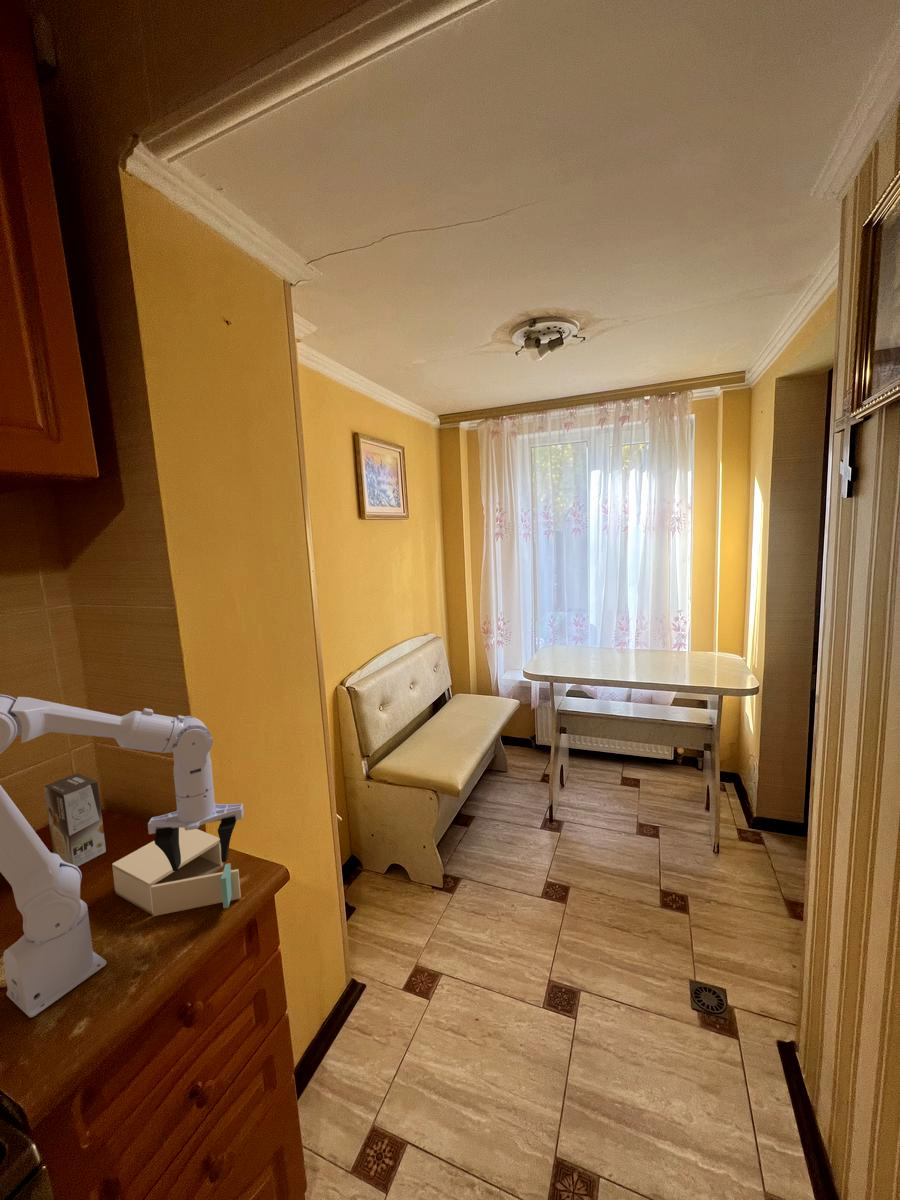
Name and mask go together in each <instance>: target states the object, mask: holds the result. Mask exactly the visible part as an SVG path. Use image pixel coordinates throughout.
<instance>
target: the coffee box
mask: <svg viewBox="0 0 900 1200" xmlns="http://www.w3.org/2000/svg"><path fill="white" fill-rule="evenodd" d="M43 791H44V796H45V804H46V812H47V817H48V824H49V832H50V840H51V847H52V853H55V854H58V855H59V856H60V858H61V859H62V860H63V861H65V862H67V863H69V864H73V865H75V866H77V867H78V868H79V867H80V866H82V865H83V864H86V863H87V862H90V861H91V860H93V859H96V858H98V856H101V855H103V854H104V853H106V852H107V849H106V839H105V832H104V823H103V822H104V821H103V816H102V815H103V814H102V808H101V807H102V806H101V799H100V791H99V783H98V780H95V779H92V778H90V777H88V776H85V775H83V774H79V773H77V772H76V773H74V774H70V775H68V776H66V777H63V778H60V779H58V780H55V781H54V782H51V783H48V784H46V785H44V786H43Z"/></svg>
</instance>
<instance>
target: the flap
mask: <svg viewBox="0 0 900 1200" xmlns="http://www.w3.org/2000/svg"><path fill="white" fill-rule="evenodd" d="M231 864H232V863H231V862H229V863H225V864H224V867H223V868H224V869H223V871H221V872H215V873H213V874H209V875H204V876H198V877H193V878H188V879H182V880H177V881H172V882H166V883H161V884H156V885H152V886H151V894H152V904H153V913H154V915H153V917H156V916H162V915H166V914H171V913H175V912H181V911H187V910H191V909H195V908H196V909H197V908H200V907H201V908H202V907H205V906H210V905H215V904H220V903H222V905H223V906H222V907H223V909H228V908H229V907H230V904H231V901H235V900H239V899H241V898H242V897H241V882H240V872H239V868H236V869H232V865H231Z"/></svg>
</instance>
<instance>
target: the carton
mask: <svg viewBox="0 0 900 1200" xmlns="http://www.w3.org/2000/svg"><path fill="white" fill-rule="evenodd" d="M179 847H180V854H181V864H180V866H179V868H178V870H177V871H173V869H172V867H171V864H170V862H169V860H168V858H167V857H166V855H165V854H164V852H163V851H162V850H161V849H160V848H159V847H158V846H157V845H155V842H154V840H153V841H151V842H149V843H147V844H146V845H144V846H141V847H139V848H138V849H137V850H134V851H133V852H130V853H129V854H127V855H125V856H123V857H121V858H120V859H118V860H116V861H114V862H113V863H111V866H112V874H113V875H112V876H113V884H114V892H115V895H117V896H118V897H121V898H123V899H124V900H126V901H127V902H129V903H130V904H133V905H134V906H136V907H138V908H140V909H141V910H143V911H145V912H147V914H150V915H152V916H154V913H153V904H152V894H151V886H152V885H156V884H161V883H166V882H172V881H177V880H182V879H188V878H193V877H198V876H204V875H209V874H214V873H217V872H218V871H220V869H223V868H224V867H225V864H224V862H222V860H221V844H220V838H219V836H216V835H213V834H211V833H208V832H205V831H203V830H201V829H198V828H197V829H193V830H185V828H180V827H179Z"/></svg>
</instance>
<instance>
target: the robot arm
mask: <svg viewBox="0 0 900 1200" xmlns="http://www.w3.org/2000/svg"><path fill="white" fill-rule="evenodd" d="M49 733H60V734H70V735H81V736H89V737H91V736H92V737H101V738H111V739H114V740H115V741H116V743H117V745H118V746H119V747H120V748H122V749H123V748H124V749H132V750H139V751H145V752H154V753H160V754H162V753H163V754H167V753H173V769H172V770H173V771H172V772H173V779H174V780H173V782H174V789H175V801H176V802H175V803H176V811H172V812H169V813H166V814H162V815H158V816H152V817H151V818H150V819H149V821H148V822H147V829H148V835H154V834H155V838H154V839H153V841H154V842H155V845H157V846H158V847H159V848H160V849H161V850H162V851H163V852H164V854H165V855H166V857H167V858H168V860H169V862H170V864H171V867H172V869H173V871H177V870H178V868H179V866H180V864H181V854H180V847H179V827H180V828H185V830H193V829H198V828H199V827H200V826H202V825H205V824H209V823H217V822H220V823H219V826H218V828H217V835H218V838H220V844H221V860H222V862H223V863H227V861H228V858H229V851H230V842H231V840H232V839H231V837H232V834H233V831H234V829H235V826H236V823H237V821H239V820H243V817H244V814H245V813H244V803H235V804H234V803H232V804H230V803H226V804H225V803H216V802H215V789H214V788H215V787H214V777H213V776H214V775H213V767H212V766H213V765H212V759H211V756H210V755H211V750H212V747H213V745H214V738H213V737H212V734H211V732H210V731H209V728H207V726H206V725H205V722H203V721H202V720H200V719H198V718H196V717H194V716H192V715H187V716H186V715H185V716H184V715H180V714H179V715H177V716H175V717H174V716H170V715H169V716H168V715H163V714H157V713H154V710H153V709H151V708H147V707H145V708H143V710H142V711H141V710H140V711H139V710H132V711H131V712H129V713H127V714H124V715H121V716H120V715H115V714H112V713H111V714H110V713H106V712H101V711H96V710H91V709H87V708H83V707H78V706H71V705H67V704H63V703H58V702H53V701H48V700H44V699H38V698H33V697H28V696H17V698H15V697H13V696H11V695H7V694H0V755H1V754H2V753H3V752H5V751H6V749H8V748H9V747H10V746H11V745H12V743H13V742H14V741H15V739H16V737H17V736H21V737H20V743H21V744H24V743H27V742H30V741H31V740H34V739H37V738H38V737H41V736H44V735H45V734H49ZM0 873H1V875H2V876H3V877H4V879H5V880H6V881H7V882H8V883H9V885H10V886H11V888H12V889H11V890H12V893H13V897H14V901H15V906H16V908H17V910H18V911H19V912H20V914H21V916H22V930H23V933H24V934H23V935H22V936H21V937H20V938H19V939H18V940H17V941H16V942H14V943H13V944H11V945H10V946H8V948H7V949H5V950H4V952H3V953H2V954H3V955H2V956H3V957H2V959H3V966H4V967H3V968H4V974H5V981H6V988H7V991H6V996H7V997H8V999H10V1001H12V1002H13V1003H14V1004H15V1005H16V1006H17V1007H18V1008H19V1009H20V1010H21V1011H22V1012H23V1013H24V1014H25V1015H27V1017H28V1018H34V1017H35V1016H37V1015H38V1014H40V1013H41V1012H42V1011H44V1010H45V1009H47V1008H48V1007H49V1006H51V1005H53V1004H54V1003H55V1002H56V1001H59V999H61V998H62V997H63V996H65V995H66V994H68V993H70V991H72V990H73V989H74V988H76V987H77V986H78V985H81V984H82V983H83V982H84V981H86V980H87V979H89V978H90V977H92V976H93V975H94V974H95V973H97V972H99V971H100V970H101V969H102V968H104V967H105V966H106V965H107V960H106V959H105V958H103V957H102V956H100V955H99V954H97V953H96V952H95V951H94V950H93V941H92V934H91V925H90V918H89V917H90V916H89V909H88V904H87V903H86V902H85V901H84V900H83V899H81V885H82V884H81V883H82V879H83V875H82V871H81V870H80V868H79V866H78V867H77V866H75V865H73V864H69V863H67V862H65V861H63V860H62V859H61V858H60V856H59V855H58V854H55V853H53V852H51V851H50V850H49V849H48V847H47V846H46V845H45V844H44V842H43V841H42V839H41V838H40V837H39V835H38V834H37V833H36V831H35V830H34V828H33V827H32V826H31V824H30V823H29V822H28V820H27V819H26V817H25V816H24V815H23V813H22V812H21V811H20V809H19V808H18V807H17V805H16V804H15V803H14V801H13V800H12V798H10V796H9V795H8V793H7V791H5V789H4V788H3V786H2V785H1V784H0Z"/></svg>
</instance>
